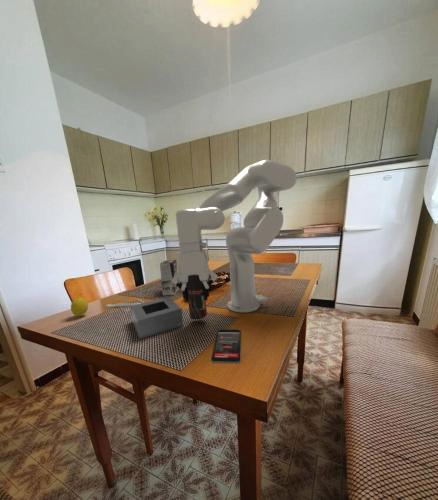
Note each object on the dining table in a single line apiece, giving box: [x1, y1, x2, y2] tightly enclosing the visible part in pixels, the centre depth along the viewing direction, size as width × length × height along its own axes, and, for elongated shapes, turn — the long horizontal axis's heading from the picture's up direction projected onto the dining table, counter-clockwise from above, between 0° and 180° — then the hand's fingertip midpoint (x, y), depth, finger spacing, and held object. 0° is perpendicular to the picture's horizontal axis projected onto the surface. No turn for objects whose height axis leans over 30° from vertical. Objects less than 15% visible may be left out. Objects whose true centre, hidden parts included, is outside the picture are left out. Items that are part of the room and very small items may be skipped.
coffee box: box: [159, 259, 180, 296], centre depth 103 cm, size 9×6×16 cm
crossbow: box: [106, 298, 145, 313], centre depth 89 cm, size 16×13×2 cm
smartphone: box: [210, 328, 242, 364], centre depth 57 cm, size 7×1×15 cm
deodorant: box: [186, 275, 208, 320], centre depth 69 cm, size 6×6×15 cm
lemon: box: [70, 296, 89, 318], centre depth 80 cm, size 6×6×8 cm
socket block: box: [130, 296, 184, 340], centre depth 71 cm, size 14×14×6 cm
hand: (196, 299), depth 69 cm, fingers closed on deodorant, 6 cm apart
